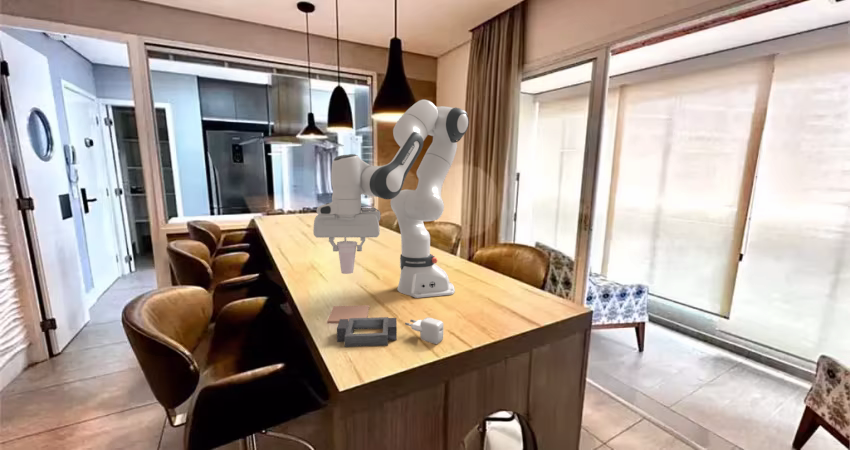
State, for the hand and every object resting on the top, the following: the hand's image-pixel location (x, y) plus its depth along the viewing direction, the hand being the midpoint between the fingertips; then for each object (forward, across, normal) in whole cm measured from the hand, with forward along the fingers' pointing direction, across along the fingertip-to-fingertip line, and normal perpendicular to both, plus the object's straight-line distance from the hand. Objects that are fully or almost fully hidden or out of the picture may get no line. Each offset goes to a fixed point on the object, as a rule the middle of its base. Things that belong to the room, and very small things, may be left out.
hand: (347, 251), depth 113 cm
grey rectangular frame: (+22, -7, +15) cm, 27 cm away
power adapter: (+22, -23, +17) cm, 36 cm away
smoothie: (+7, 0, +1) cm, 7 cm away
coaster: (+22, 0, 0) cm, 22 cm away
